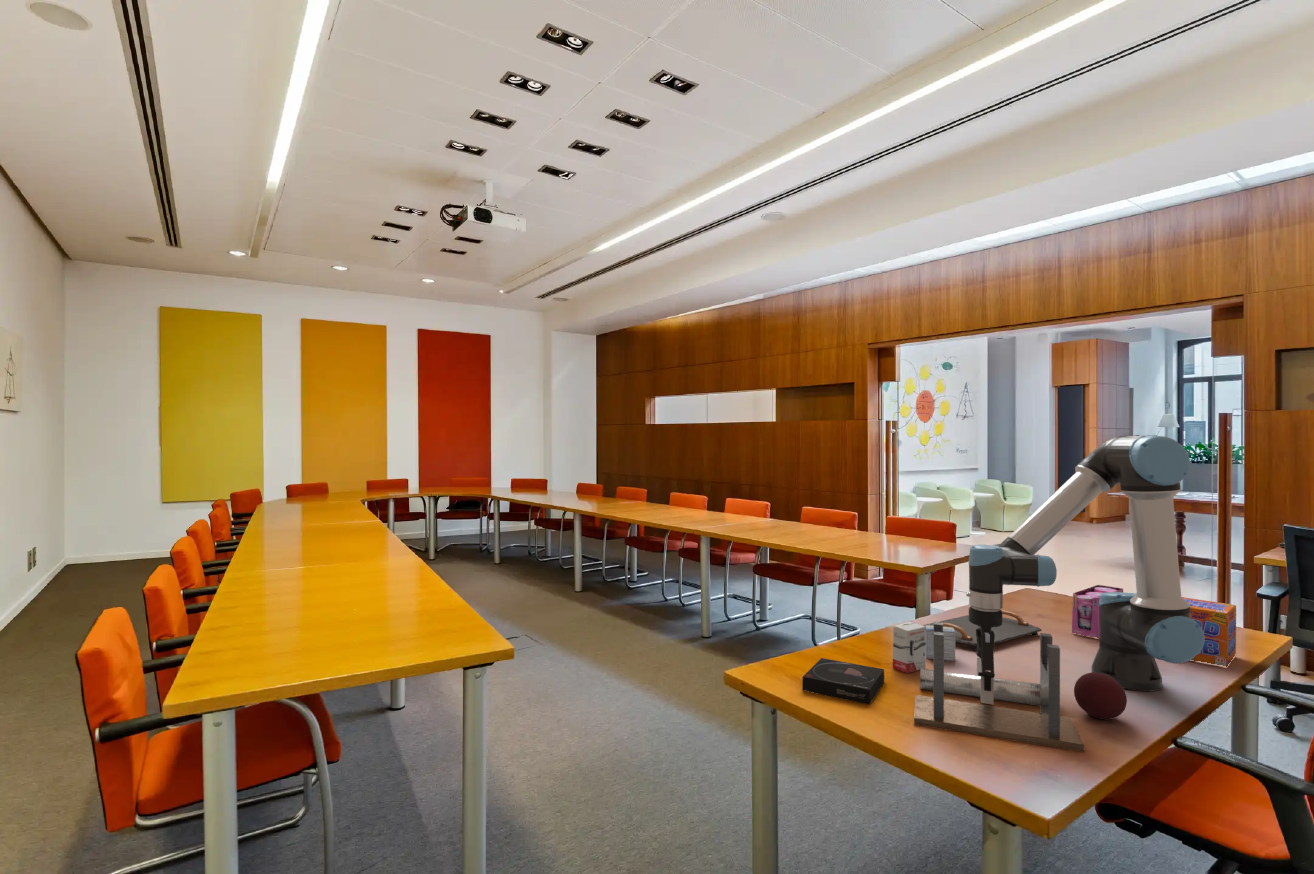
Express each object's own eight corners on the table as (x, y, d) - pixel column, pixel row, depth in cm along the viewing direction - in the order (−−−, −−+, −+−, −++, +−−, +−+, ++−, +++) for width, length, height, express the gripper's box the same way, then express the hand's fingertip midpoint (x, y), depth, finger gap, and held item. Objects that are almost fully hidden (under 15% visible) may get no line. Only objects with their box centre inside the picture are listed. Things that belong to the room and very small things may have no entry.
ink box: (907, 673, 174) (907, 630, 174) (891, 668, 178) (892, 625, 178) (926, 667, 179) (926, 625, 179) (910, 662, 183) (911, 621, 183)
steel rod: (1053, 691, 156) (1056, 682, 153) (1056, 711, 153) (1059, 702, 150) (920, 673, 168) (920, 664, 165) (920, 692, 165) (920, 683, 161)
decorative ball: (1136, 728, 141) (1136, 683, 141) (1086, 725, 143) (1086, 680, 143) (1112, 709, 151) (1112, 667, 151) (1065, 706, 153) (1065, 664, 153)
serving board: (981, 619, 230) (981, 602, 230) (1048, 636, 210) (1048, 617, 210) (911, 636, 210) (911, 617, 210) (978, 656, 190) (978, 635, 190)
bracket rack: (1070, 724, 143) (1070, 634, 143) (1084, 751, 130) (1084, 653, 131) (915, 700, 156) (915, 618, 156) (914, 724, 143) (914, 633, 143)
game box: (1158, 655, 191) (1158, 602, 191) (1169, 644, 201) (1169, 594, 201) (1227, 669, 179) (1227, 613, 179) (1236, 657, 189) (1236, 604, 190)
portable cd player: (884, 683, 168) (884, 668, 168) (869, 706, 154) (869, 689, 154) (822, 671, 177) (822, 657, 177) (802, 692, 162) (802, 676, 162)
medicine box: (953, 656, 188) (954, 627, 188) (955, 661, 184) (955, 631, 184) (924, 653, 191) (924, 624, 191) (925, 658, 187) (925, 628, 187)
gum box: (1097, 641, 204) (1097, 598, 204) (1069, 635, 211) (1069, 593, 211) (1124, 628, 219) (1124, 588, 219) (1097, 623, 225) (1097, 584, 225)
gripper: (966, 595, 174) (965, 674, 174) (971, 618, 151) (970, 709, 151) (997, 598, 171) (996, 678, 171) (1008, 622, 148) (1007, 714, 148)
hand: (984, 693), depth 161 cm, fingers open, 13 cm apart
